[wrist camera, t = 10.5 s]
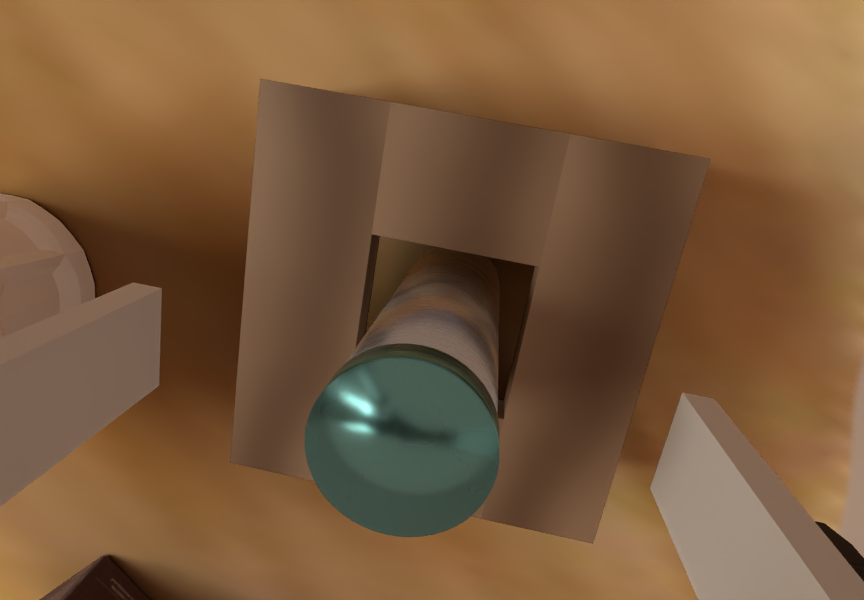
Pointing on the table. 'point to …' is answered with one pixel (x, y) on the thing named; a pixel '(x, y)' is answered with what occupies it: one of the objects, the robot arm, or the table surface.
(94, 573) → the box
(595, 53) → the table surface
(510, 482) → the bracket
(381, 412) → the long pin
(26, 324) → the cup
